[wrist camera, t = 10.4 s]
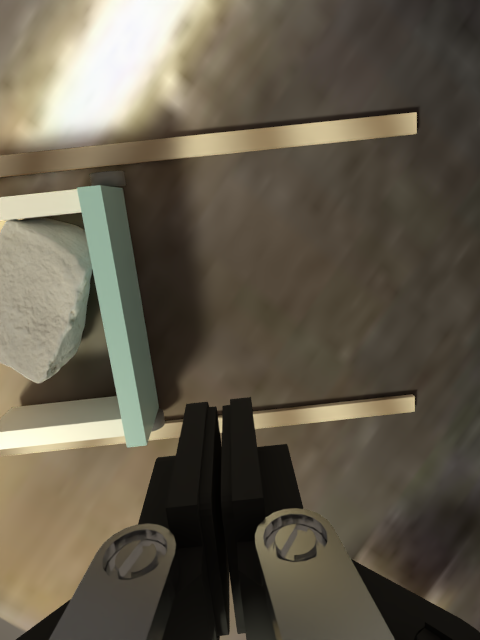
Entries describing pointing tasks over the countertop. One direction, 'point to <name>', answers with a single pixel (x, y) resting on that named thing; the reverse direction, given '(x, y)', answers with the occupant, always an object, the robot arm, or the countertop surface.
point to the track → (217, 146)
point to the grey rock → (42, 294)
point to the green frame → (118, 320)
